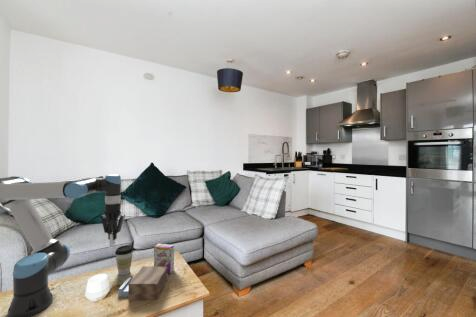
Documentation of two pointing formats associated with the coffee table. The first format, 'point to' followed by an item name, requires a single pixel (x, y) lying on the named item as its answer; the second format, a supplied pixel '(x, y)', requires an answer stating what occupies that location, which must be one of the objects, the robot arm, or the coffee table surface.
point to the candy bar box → (164, 256)
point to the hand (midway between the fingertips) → (112, 245)
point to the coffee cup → (124, 259)
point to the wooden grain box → (148, 283)
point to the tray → (124, 288)
